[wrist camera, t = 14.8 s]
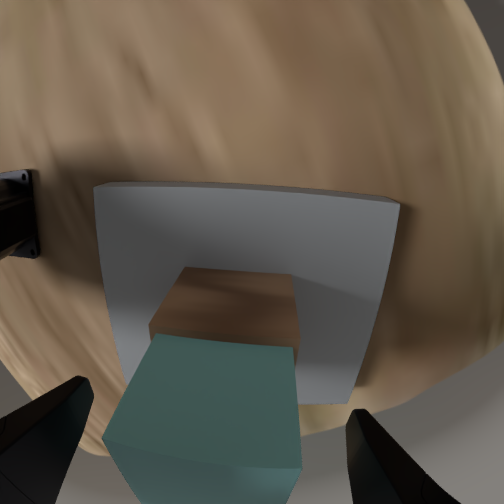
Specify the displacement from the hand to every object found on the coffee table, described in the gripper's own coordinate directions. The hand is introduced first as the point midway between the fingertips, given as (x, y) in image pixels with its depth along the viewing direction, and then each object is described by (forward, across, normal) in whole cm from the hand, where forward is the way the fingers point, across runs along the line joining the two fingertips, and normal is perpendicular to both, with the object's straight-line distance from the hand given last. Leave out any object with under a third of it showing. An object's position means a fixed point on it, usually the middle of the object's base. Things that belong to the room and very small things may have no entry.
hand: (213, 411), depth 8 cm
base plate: (+10, 0, +1) cm, 10 cm away
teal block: (+2, 0, +1) cm, 3 cm away
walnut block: (+8, 0, +1) cm, 8 cm away
